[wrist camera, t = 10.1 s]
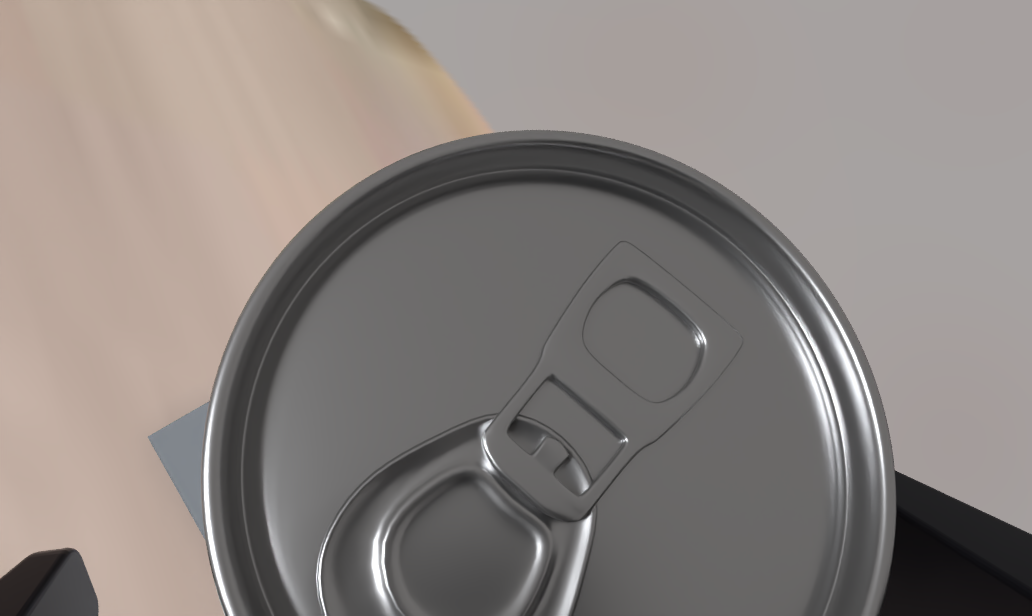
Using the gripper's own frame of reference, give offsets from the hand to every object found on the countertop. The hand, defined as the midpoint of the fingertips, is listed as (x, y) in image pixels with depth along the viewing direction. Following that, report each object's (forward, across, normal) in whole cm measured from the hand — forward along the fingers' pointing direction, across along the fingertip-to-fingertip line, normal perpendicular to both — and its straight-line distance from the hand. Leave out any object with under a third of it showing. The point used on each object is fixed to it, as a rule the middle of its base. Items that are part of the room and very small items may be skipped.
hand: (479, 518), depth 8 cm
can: (+7, 0, +6) cm, 9 cm away
